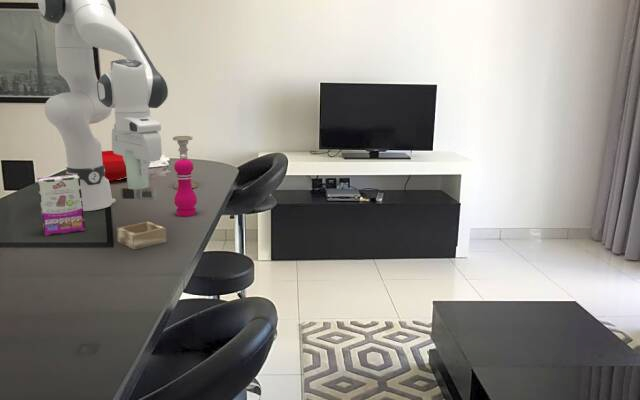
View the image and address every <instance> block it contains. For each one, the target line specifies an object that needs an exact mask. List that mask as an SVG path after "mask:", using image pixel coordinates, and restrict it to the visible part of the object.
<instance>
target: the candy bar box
mask: <svg viewBox="0 0 640 400" xmlns="http://www.w3.org/2000/svg"><path fill="white" fill-rule="evenodd" d="M36 182H37V189H38V190H37V191H38V197H39V203H40V213H41V218H42V219H41V221H42V228H43V234H44V236H45V237H47V236H54V235H63V234H71V233H76V232H77V233H79V232H84V231H86V223H85V222H86V220H85V213H84V212H85V211H83V203H82V194H81V186H80V178H79V176H78V175H67V176H66V175H60V176H59V175H57V176H46V177H37V181H36Z"/></svg>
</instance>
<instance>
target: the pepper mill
mask: <svg viewBox="0 0 640 400" xmlns="http://www.w3.org/2000/svg"><path fill="white" fill-rule="evenodd" d="M193 170H194V163H193V162H192V161H191V160H190V159H186V155H185V154H182V155H181V159H180V158H179V159H178V160H176V161H175V163H174V171H175V172H176V179H177V182H178V189H176V193H175V195H174V205H175V206H176V207H177V208H176V215H177V216H179V217H192V216H195V215H196V214H197V208H196V205H197V204H198V200H197V195H196V193H195V191H194V189H192V186H191V181H192V179H193V173H192V172H193Z"/></svg>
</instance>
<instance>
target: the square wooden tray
mask: <svg viewBox="0 0 640 400" xmlns="http://www.w3.org/2000/svg"><path fill="white" fill-rule="evenodd" d="M116 235H117V236H116V237H117V242H118V243H120V244H122V245H124V246H127V247H128V248H130V249H133V250H139V249H144V248H147V247H152V246H155V245H159V244H162V243H166V242H167V229H166V227H164V226H161V225H159V224H157V223H156V224H155V223H153V222H151V221H148V220H147V221H143V222H139V223H134V224H130V225H124V226H119V227H116Z"/></svg>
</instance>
